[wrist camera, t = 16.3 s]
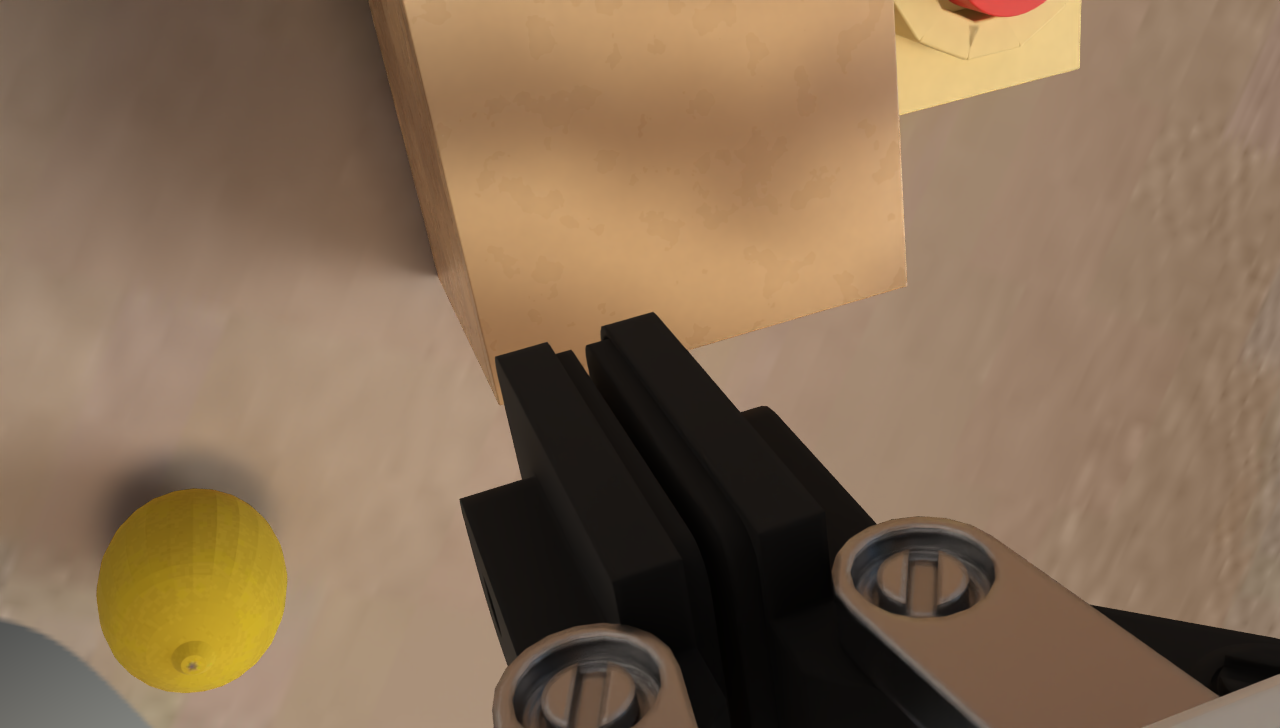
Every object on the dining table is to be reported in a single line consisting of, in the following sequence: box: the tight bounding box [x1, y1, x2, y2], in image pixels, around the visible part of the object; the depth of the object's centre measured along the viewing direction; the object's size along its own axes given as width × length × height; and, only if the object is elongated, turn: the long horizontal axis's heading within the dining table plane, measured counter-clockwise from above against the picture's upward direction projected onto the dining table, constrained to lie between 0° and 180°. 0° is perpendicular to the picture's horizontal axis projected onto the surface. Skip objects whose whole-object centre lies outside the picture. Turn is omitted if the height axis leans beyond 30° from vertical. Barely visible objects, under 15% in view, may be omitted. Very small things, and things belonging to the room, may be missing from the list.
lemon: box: [97, 488, 287, 693], centre depth 37 cm, size 6×6×8 cm
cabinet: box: [368, 0, 907, 405], centre depth 34 cm, size 14×12×10 cm
